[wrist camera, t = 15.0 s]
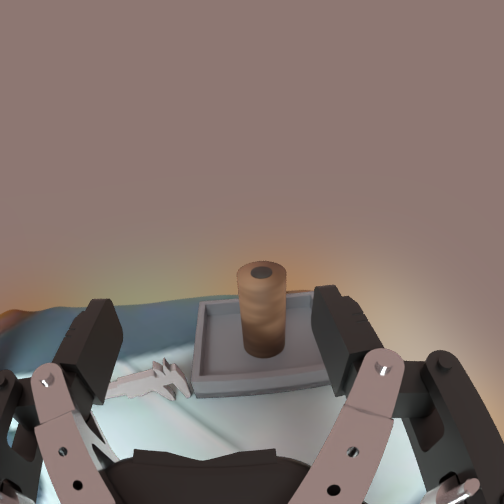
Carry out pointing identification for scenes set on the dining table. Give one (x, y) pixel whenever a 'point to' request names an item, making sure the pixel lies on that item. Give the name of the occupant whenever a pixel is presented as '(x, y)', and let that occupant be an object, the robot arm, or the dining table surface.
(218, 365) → the tray
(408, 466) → the dining table surface
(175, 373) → the caliper
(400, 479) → the dining table surface
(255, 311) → the cylinder
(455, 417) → the robot arm
